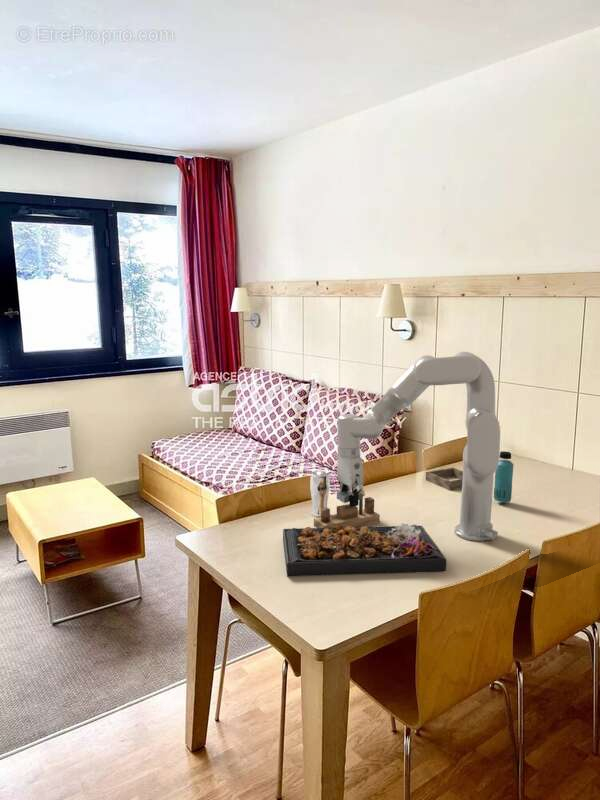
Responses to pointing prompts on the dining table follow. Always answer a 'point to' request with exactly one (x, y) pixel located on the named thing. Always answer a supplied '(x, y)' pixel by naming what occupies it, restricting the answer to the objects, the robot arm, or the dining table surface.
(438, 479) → the square wooden tray
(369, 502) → the wooden post stand
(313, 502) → the beer glass
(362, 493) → the lever
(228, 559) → the dining table surface
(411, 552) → the food platter
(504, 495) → the beverage bottle
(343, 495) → the grey rectangular block
